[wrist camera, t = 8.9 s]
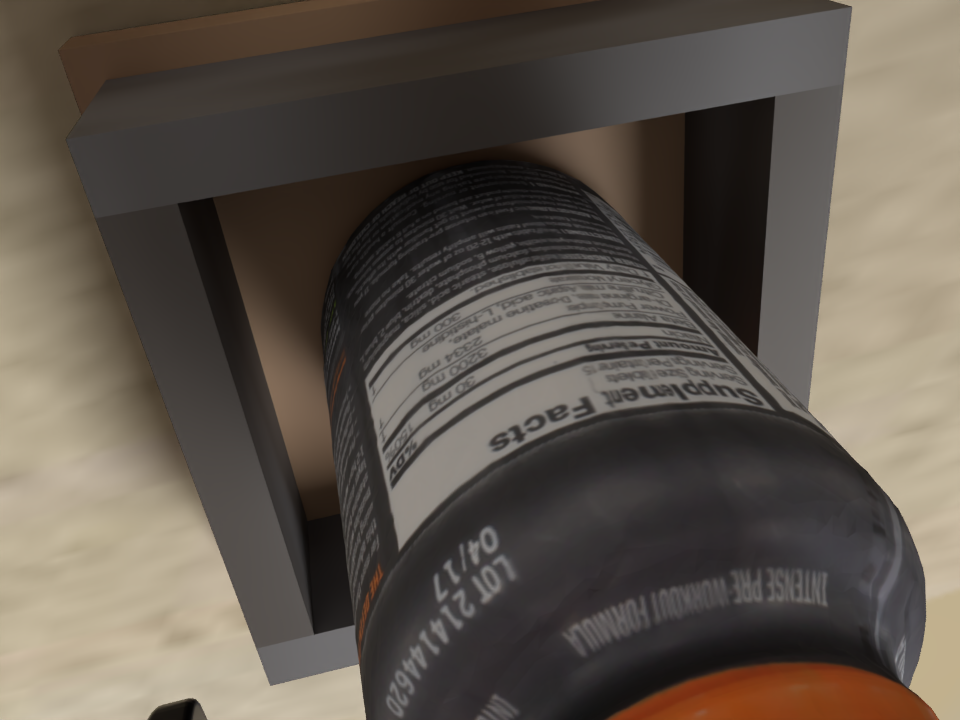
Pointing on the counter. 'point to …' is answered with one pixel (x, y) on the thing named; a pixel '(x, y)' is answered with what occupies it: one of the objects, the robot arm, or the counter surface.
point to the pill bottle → (590, 481)
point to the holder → (398, 162)
